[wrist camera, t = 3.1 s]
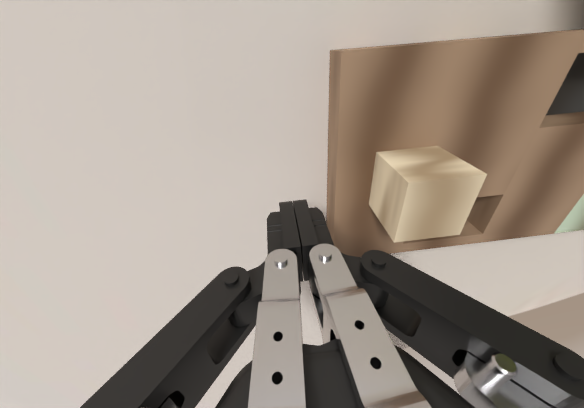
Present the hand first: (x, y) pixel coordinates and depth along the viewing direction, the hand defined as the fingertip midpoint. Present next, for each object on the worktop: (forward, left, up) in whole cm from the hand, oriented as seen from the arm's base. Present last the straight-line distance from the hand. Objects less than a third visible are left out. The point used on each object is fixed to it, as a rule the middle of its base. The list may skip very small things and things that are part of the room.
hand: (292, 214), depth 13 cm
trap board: (-17, 0, -6) cm, 18 cm away
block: (-8, 0, -3) cm, 8 cm away
